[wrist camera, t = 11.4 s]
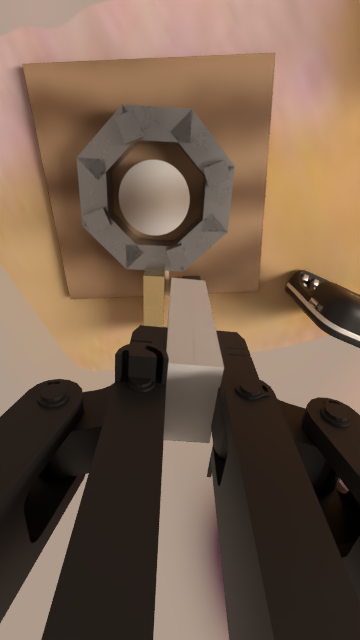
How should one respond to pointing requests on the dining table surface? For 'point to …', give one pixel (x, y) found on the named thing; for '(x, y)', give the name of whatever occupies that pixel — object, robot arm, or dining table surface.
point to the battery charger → (327, 305)
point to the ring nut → (114, 234)
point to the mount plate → (163, 87)
